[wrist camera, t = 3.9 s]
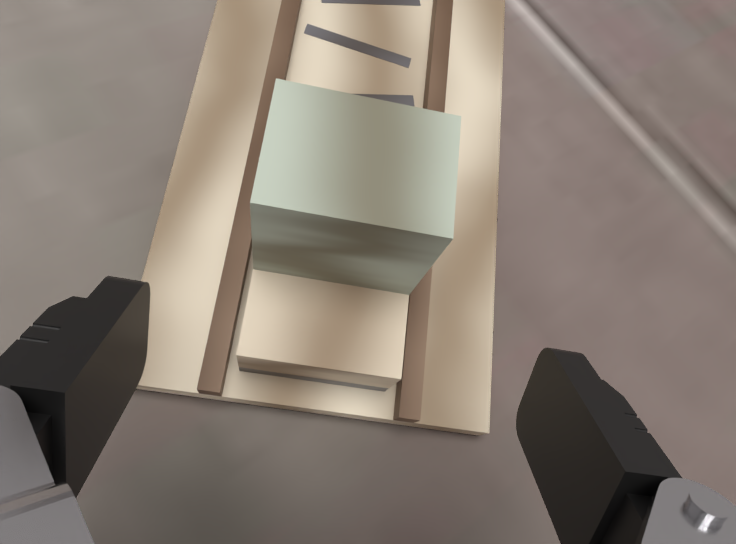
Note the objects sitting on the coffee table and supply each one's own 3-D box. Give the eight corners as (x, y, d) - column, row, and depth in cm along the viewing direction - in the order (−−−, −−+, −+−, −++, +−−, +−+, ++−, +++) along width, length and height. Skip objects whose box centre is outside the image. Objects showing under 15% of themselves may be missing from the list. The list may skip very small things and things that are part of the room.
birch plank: (121, 386, 22) (107, 376, 20) (246, -84, 31) (245, -125, 28) (478, 435, 23) (498, 431, 21) (498, -25, 32) (514, -59, 30)
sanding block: (239, 371, 21) (227, 312, 14) (284, 142, 25) (292, -2, 17) (384, 391, 22) (446, 345, 15) (407, 165, 26) (466, 37, 18)
